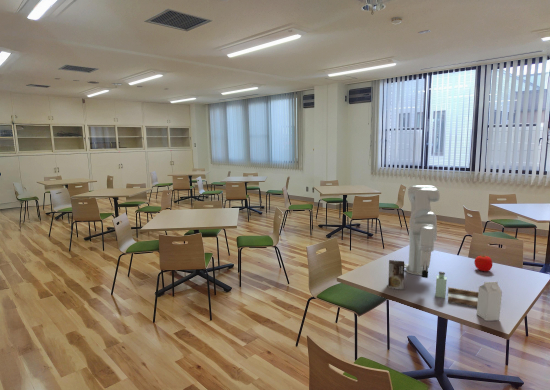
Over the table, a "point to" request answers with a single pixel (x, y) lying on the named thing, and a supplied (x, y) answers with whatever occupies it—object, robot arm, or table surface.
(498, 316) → the milk carton
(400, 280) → the coffee box
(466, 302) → the brown white flat box
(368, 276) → the table surface
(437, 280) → the bottle
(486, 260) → the tomato
